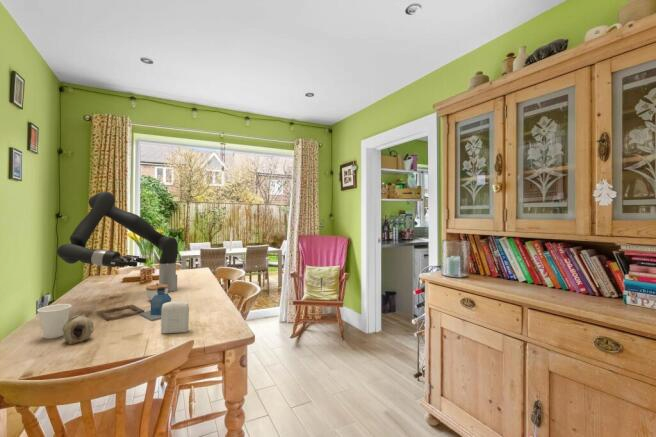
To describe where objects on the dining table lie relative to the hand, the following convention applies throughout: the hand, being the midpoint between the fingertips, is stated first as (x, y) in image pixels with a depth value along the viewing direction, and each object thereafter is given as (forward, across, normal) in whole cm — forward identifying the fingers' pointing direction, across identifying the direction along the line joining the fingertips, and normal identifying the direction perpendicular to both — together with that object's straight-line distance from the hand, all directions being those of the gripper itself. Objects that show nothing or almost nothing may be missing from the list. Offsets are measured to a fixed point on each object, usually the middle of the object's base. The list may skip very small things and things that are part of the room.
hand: (141, 262), depth 150 cm
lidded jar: (+1, +20, +25) cm, 32 cm away
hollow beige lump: (-3, -34, +23) cm, 42 cm away
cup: (-15, -30, +25) cm, 41 cm away
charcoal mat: (+14, -4, +22) cm, 26 cm away
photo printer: (+29, -28, +19) cm, 44 cm away
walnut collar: (-5, -3, +25) cm, 25 cm away
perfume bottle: (+14, -4, +22) cm, 26 cm away
